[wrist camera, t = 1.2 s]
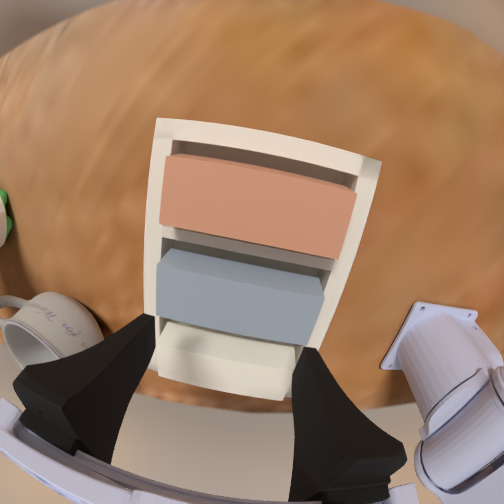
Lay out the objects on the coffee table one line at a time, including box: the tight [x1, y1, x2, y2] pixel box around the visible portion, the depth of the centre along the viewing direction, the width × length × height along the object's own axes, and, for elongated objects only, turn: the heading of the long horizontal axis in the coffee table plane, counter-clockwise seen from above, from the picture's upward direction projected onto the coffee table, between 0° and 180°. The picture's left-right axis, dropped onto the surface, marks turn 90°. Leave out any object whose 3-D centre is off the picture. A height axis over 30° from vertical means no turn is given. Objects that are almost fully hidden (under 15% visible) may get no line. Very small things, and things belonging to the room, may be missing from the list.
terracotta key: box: [159, 154, 357, 260], centre depth 14 cm, size 10×4×2 cm, turn 79°
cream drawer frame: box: [144, 118, 382, 398], centre depth 19 cm, size 13×20×4 cm, turn 169°
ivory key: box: [157, 322, 296, 401], centre depth 19 cm, size 10×4×2 cm, turn 79°
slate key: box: [156, 248, 325, 346], centre depth 17 cm, size 10×4×2 cm, turn 79°
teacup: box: [0, 292, 104, 369], centre depth 21 cm, size 14×11×8 cm
